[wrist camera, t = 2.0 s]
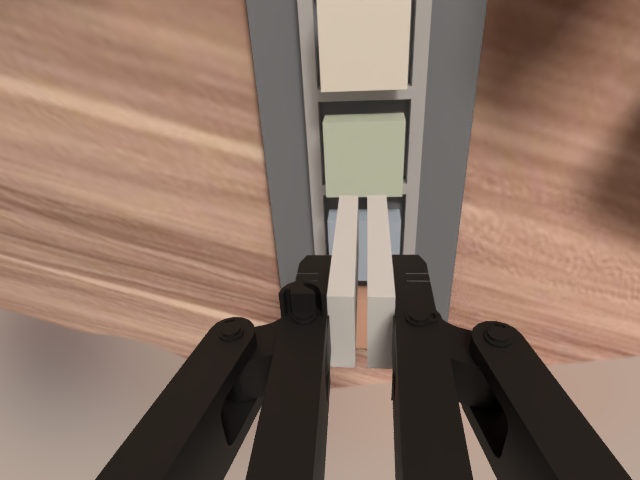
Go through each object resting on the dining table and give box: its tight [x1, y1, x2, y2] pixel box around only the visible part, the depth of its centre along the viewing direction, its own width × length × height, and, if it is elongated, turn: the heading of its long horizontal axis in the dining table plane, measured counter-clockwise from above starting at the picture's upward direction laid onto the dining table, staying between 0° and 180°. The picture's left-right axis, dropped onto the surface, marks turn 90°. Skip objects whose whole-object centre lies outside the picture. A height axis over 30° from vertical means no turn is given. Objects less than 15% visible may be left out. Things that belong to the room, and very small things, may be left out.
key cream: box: [316, 0, 411, 92], centre depth 22 cm, size 4×4×2 cm
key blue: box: [327, 209, 401, 281], centre depth 28 cm, size 4×4×2 cm
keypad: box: [246, 0, 487, 322], centre depth 29 cm, size 13×26×2 cm, turn 3°
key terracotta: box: [356, 286, 367, 348], centre depth 31 cm, size 4×4×2 cm
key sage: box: [323, 113, 406, 197], centre depth 25 cm, size 4×4×2 cm
